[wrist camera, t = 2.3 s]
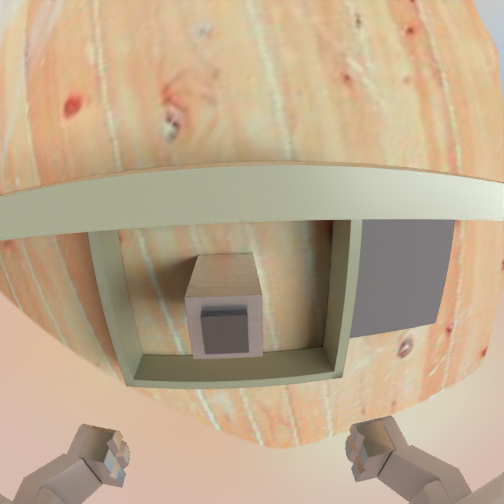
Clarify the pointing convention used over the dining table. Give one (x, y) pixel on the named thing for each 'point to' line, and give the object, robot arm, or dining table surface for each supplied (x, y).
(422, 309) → the rubber mat
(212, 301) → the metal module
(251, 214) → the olive open box frame
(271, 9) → the dining table surface
